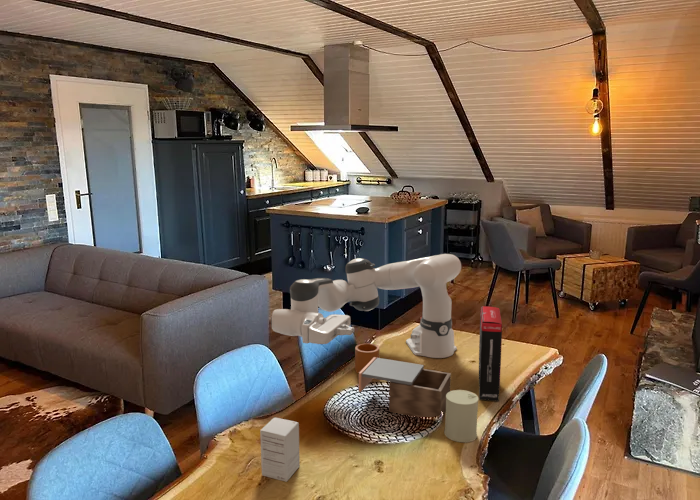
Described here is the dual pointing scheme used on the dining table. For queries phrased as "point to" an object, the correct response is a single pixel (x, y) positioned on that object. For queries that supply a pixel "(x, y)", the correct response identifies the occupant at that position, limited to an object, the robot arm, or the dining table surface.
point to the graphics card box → (490, 353)
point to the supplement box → (280, 449)
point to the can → (461, 416)
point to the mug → (365, 355)
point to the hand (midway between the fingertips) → (352, 331)
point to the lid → (389, 372)
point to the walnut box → (421, 395)
